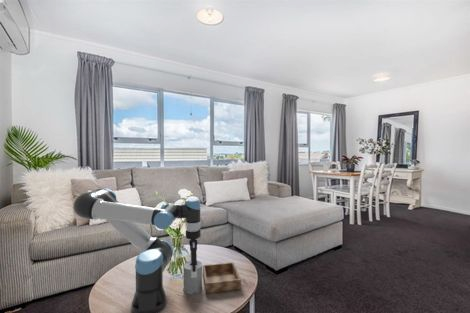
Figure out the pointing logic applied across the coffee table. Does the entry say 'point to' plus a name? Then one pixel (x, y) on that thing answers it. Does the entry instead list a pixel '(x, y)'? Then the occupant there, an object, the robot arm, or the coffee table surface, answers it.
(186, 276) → the speckled white tin can
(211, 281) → the walnut box
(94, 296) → the coffee table surface
